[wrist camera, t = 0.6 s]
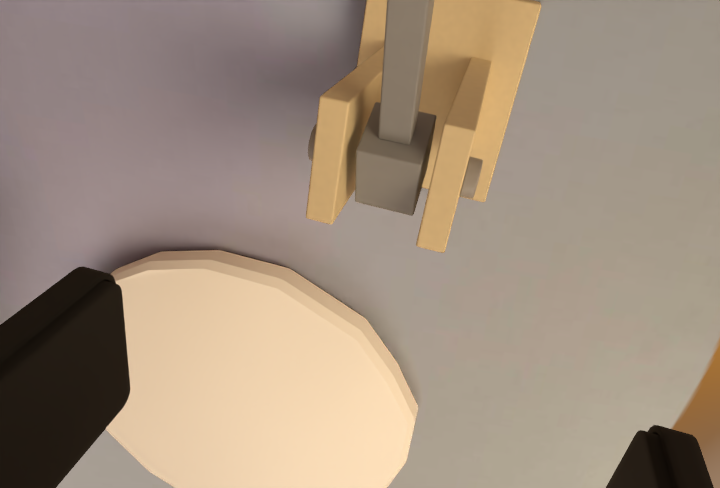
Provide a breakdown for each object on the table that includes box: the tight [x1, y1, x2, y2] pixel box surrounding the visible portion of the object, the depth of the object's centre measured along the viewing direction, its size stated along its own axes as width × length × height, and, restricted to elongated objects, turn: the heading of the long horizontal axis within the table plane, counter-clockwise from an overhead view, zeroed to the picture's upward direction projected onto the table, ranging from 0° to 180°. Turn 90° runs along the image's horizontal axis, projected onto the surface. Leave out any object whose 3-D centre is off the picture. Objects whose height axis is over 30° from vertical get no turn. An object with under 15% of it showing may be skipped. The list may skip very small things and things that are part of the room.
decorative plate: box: [106, 250, 418, 488], centre depth 42 cm, size 25×4×25 cm
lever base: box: [306, 0, 541, 253], centre depth 24 cm, size 10×8×13 cm
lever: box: [355, 0, 437, 215], centre depth 16 cm, size 13×5×2 cm, turn 171°
